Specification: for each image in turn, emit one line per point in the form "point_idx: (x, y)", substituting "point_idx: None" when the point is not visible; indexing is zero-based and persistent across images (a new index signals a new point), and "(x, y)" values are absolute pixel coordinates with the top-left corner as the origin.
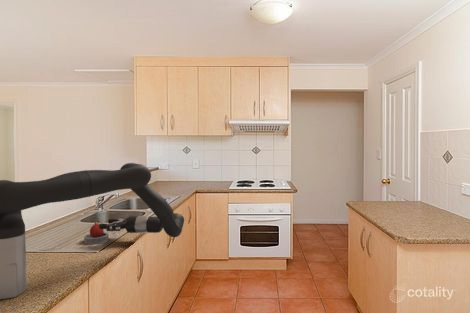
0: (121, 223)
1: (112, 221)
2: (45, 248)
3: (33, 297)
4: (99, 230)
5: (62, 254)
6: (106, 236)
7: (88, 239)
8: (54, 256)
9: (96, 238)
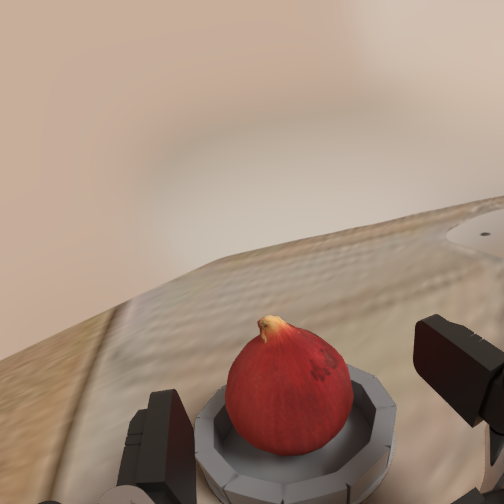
0: None
1: (448, 369)
2: (136, 347)
3: None
4: (259, 421)
5: (43, 428)
6: (308, 502)
7: (197, 430)
8: (30, 414)
9: (207, 473)
